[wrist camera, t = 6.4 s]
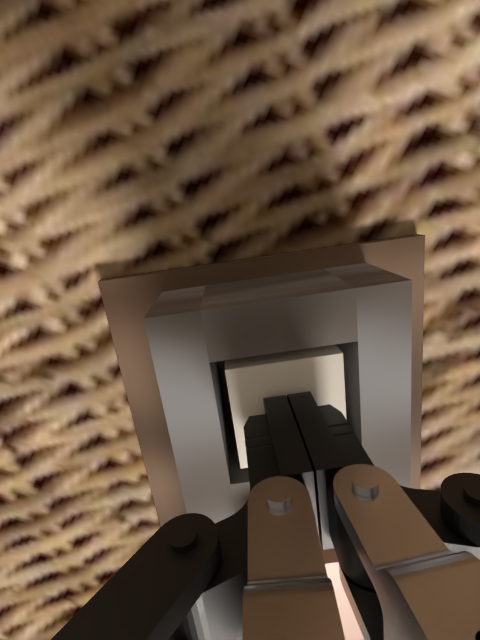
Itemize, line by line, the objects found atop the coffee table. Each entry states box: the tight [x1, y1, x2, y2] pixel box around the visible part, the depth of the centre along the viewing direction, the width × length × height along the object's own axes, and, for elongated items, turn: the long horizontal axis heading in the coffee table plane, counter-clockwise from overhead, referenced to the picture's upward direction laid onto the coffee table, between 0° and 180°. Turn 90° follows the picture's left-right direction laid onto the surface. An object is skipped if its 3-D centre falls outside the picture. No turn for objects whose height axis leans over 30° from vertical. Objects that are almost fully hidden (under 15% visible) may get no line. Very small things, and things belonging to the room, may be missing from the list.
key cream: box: [225, 344, 346, 469], centre depth 13 cm, size 4×4×3 cm
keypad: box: [98, 234, 425, 640], centre depth 16 cm, size 27×12×4 cm, turn 8°
